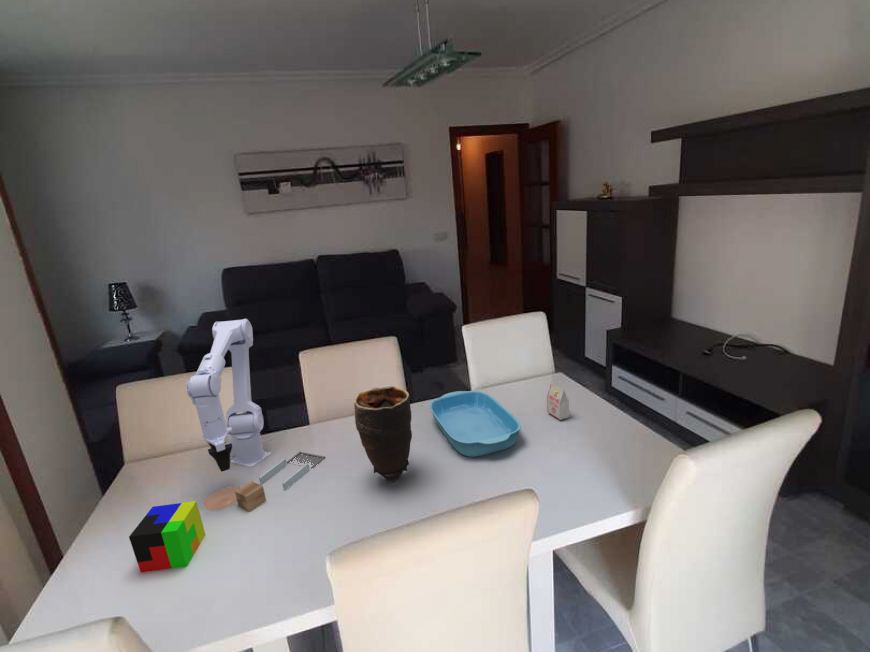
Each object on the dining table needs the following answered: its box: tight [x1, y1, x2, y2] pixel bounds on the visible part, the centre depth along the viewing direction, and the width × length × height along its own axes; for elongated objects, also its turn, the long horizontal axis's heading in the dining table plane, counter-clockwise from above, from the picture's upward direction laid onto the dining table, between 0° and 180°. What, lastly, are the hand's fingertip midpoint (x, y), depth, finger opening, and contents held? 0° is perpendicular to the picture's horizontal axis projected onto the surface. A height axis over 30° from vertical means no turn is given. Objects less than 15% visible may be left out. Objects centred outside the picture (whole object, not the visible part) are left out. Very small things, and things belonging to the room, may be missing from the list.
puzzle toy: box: [128, 500, 206, 573], centre depth 104 cm, size 10×10×10 cm
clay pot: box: [353, 384, 413, 482], centre depth 123 cm, size 15×15×25 cm
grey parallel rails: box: [258, 458, 310, 491], centre depth 131 cm, size 9×10×2 cm
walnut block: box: [235, 480, 267, 513], centre depth 120 cm, size 5×5×5 cm
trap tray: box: [286, 451, 326, 469], centre depth 139 cm, size 10×6×1 cm, turn 65°
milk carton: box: [546, 383, 570, 421], centre depth 152 cm, size 4×7×10 cm, turn 23°
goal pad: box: [203, 486, 241, 511], centre depth 124 cm, size 10×10×1 cm
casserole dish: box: [429, 390, 522, 458], centre depth 146 cm, size 37×22×7 cm, turn 18°
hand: (223, 463), depth 123 cm, fingers open, 7 cm apart
